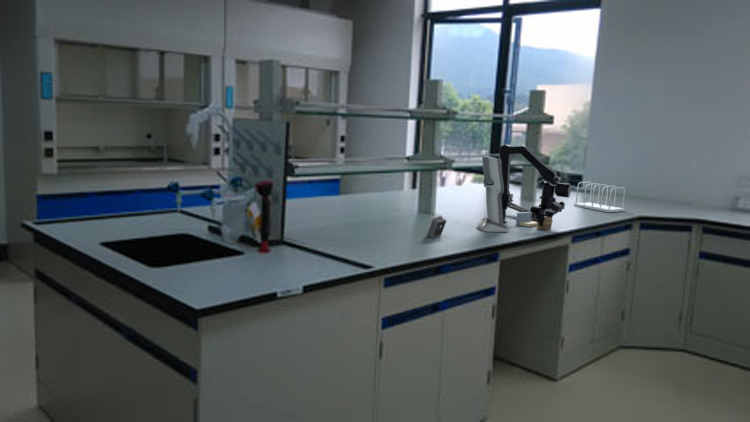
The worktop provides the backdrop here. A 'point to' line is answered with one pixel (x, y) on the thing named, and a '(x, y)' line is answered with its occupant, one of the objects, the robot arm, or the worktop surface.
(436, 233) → the electrical switch
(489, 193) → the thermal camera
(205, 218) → the worktop surface
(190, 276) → the worktop surface
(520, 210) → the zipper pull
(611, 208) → the file sorter
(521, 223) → the blue and beige sponge
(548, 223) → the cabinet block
